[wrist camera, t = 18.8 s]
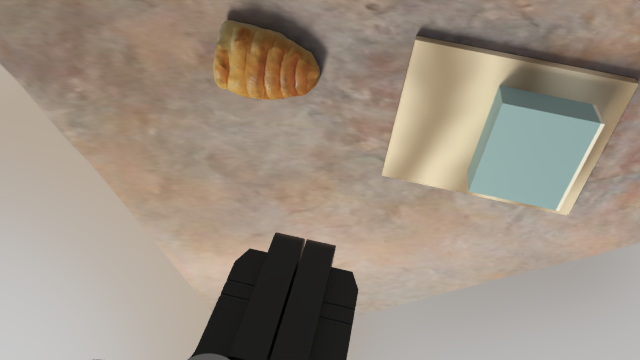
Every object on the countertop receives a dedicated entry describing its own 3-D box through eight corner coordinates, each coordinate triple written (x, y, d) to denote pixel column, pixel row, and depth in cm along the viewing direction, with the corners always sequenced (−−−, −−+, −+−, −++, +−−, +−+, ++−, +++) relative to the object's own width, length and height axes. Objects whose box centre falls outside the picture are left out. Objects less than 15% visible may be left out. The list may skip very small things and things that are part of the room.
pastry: (327, 35, 47) (319, 52, 44) (317, 102, 51) (308, 123, 48) (222, 13, 47) (207, 29, 44) (220, 82, 52) (206, 101, 49)
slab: (468, 191, 48) (558, 211, 48) (502, 103, 43) (604, 124, 42) (467, 171, 51) (553, 189, 50) (499, 85, 45) (595, 104, 45)
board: (382, 169, 54) (381, 175, 53) (415, 35, 45) (415, 39, 44) (565, 208, 52) (567, 215, 52) (635, 78, 44) (638, 83, 43)
